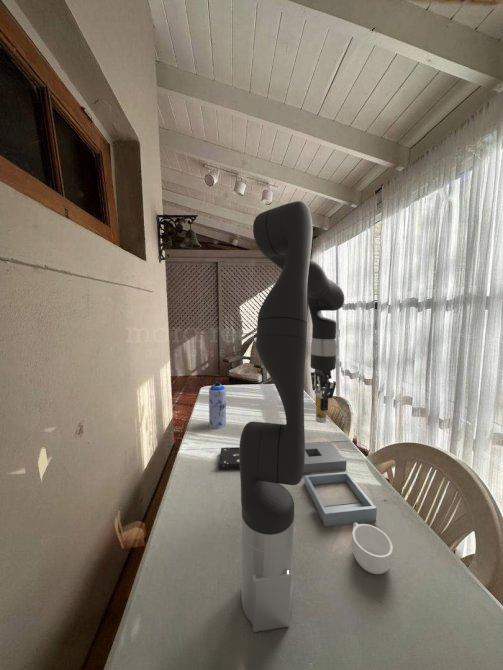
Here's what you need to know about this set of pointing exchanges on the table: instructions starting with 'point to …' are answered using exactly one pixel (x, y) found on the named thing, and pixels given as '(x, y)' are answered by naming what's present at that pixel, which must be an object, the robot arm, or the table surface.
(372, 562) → the teacup
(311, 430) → the table surface
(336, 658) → the table surface
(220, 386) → the aerosol can
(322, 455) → the board
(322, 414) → the fuse
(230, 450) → the disk drive
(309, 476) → the parts tray
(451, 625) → the table surface
